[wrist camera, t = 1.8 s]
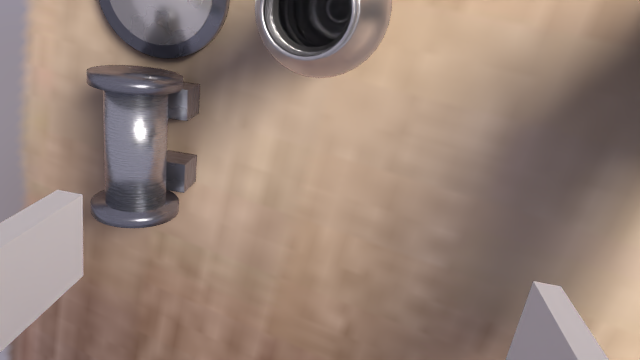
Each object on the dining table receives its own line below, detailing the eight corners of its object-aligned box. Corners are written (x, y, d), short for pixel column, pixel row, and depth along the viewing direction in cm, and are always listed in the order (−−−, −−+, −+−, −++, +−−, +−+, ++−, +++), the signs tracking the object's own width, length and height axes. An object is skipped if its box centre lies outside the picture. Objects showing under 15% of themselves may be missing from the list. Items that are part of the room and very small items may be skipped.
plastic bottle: (279, 6, 38) (184, 9, 19) (346, -62, 36) (314, -134, 17) (336, 71, 39) (299, 134, 20) (404, 9, 37) (434, 14, 18)
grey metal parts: (101, -92, 37) (28, -117, 29) (234, -74, 36) (196, -96, 28) (106, 178, 44) (49, 215, 36) (217, 196, 43) (183, 237, 36)
